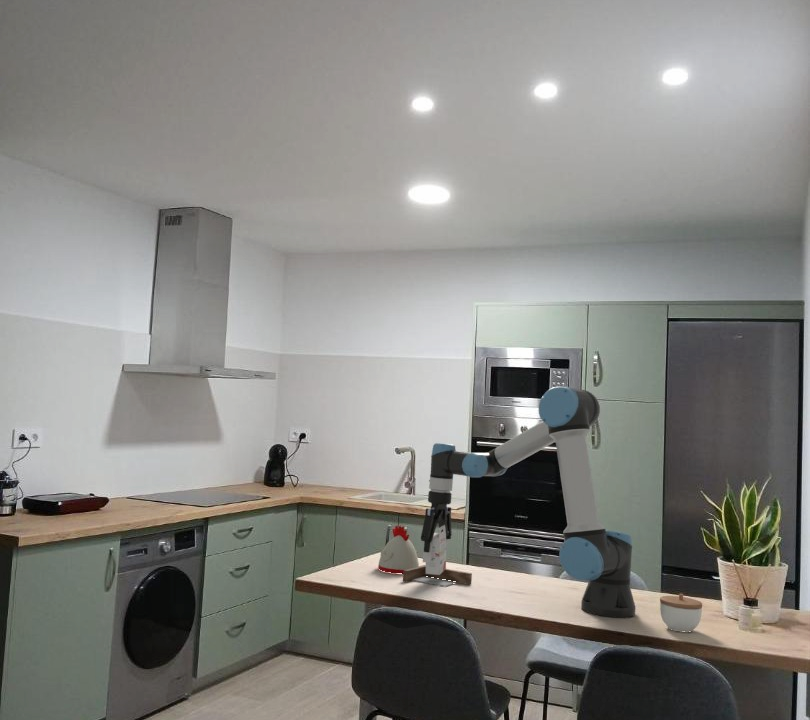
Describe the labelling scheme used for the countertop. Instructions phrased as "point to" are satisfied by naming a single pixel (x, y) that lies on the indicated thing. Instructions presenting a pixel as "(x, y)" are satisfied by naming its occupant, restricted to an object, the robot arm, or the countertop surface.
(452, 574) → the corner walls
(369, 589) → the countertop surface
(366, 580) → the countertop surface
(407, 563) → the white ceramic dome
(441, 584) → the pad
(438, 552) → the ink cartridge box
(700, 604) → the lidded jar
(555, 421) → the robot arm
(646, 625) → the countertop surface
